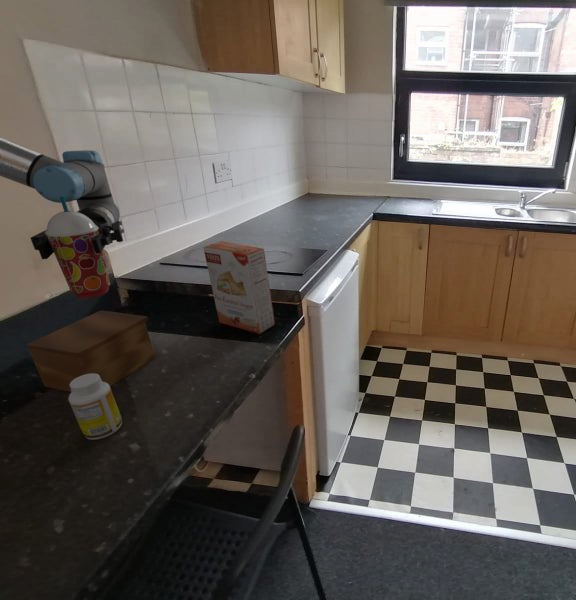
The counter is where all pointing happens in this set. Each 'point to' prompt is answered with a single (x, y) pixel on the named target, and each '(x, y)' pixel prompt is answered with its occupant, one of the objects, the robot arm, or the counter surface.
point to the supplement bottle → (94, 406)
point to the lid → (87, 333)
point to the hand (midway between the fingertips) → (69, 249)
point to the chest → (96, 360)
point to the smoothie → (78, 253)
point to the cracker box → (240, 286)
